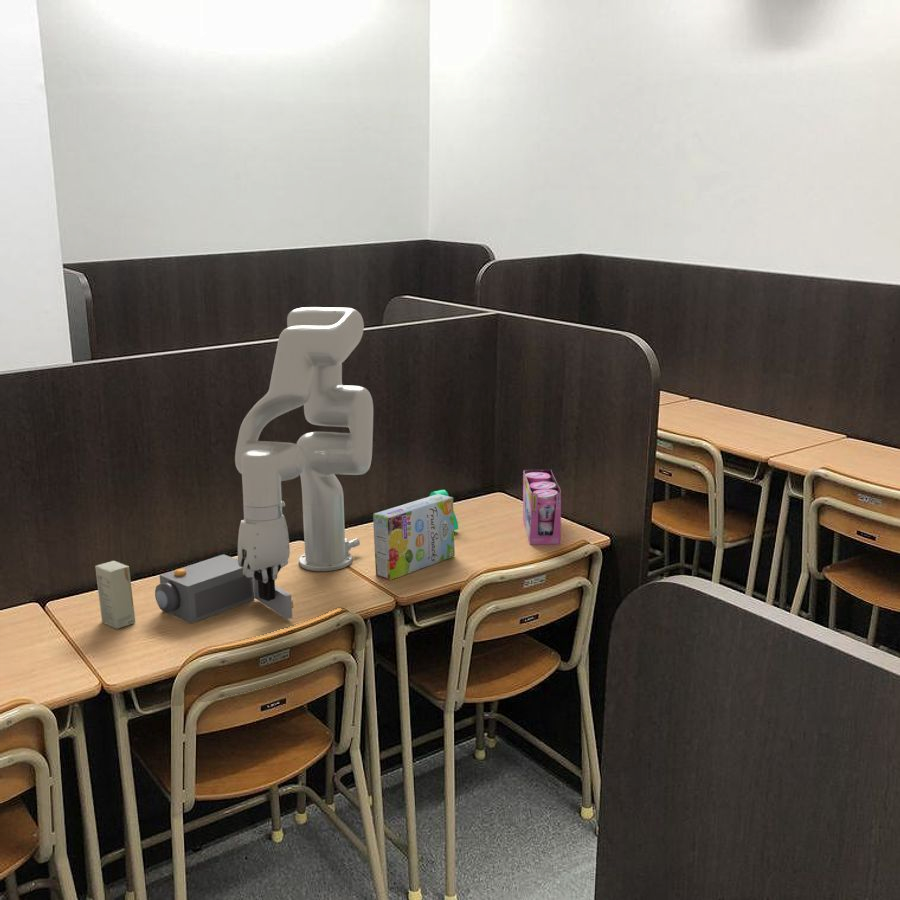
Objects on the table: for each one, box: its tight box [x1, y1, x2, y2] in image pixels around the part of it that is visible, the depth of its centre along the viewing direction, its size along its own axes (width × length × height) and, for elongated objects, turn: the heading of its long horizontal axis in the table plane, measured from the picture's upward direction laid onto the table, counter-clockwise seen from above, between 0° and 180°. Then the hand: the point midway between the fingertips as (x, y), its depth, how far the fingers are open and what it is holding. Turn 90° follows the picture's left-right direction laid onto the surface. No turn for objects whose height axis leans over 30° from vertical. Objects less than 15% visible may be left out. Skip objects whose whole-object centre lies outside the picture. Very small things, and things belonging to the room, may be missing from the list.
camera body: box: [154, 553, 255, 624], centre depth 198 cm, size 19×10×9 cm, turn 139°
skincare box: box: [94, 560, 136, 630], centre depth 190 cm, size 6×4×12 cm
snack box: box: [372, 494, 456, 581], centre depth 220 cm, size 21×6×15 cm, turn 136°
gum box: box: [522, 469, 562, 546], centre depth 243 cm, size 24×8×14 cm, turn 0°
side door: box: [253, 577, 294, 620], centre depth 196 cm, size 15×2×5 cm, turn 38°
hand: (267, 598), depth 192 cm, fingers closed
